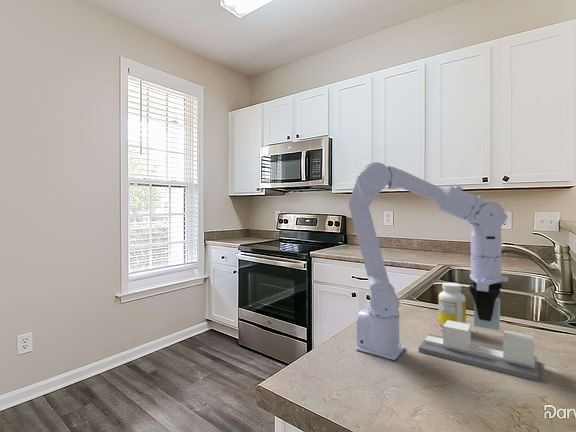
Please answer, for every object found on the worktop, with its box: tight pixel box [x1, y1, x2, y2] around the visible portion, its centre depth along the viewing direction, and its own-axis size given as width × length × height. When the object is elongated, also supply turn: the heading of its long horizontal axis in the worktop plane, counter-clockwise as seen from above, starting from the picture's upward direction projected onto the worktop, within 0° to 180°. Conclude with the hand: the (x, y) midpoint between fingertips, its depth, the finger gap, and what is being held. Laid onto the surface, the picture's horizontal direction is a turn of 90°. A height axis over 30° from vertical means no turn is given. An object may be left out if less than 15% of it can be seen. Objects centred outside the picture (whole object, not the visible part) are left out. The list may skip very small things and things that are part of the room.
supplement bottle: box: [438, 282, 467, 332], centre depth 86 cm, size 7×7×13 cm
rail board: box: [418, 320, 540, 383], centre depth 70 cm, size 22×10×6 cm, turn 53°
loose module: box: [473, 297, 501, 331], centre depth 69 cm, size 4×4×6 cm
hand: (485, 317), depth 69 cm, fingers closed on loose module, 4 cm apart
